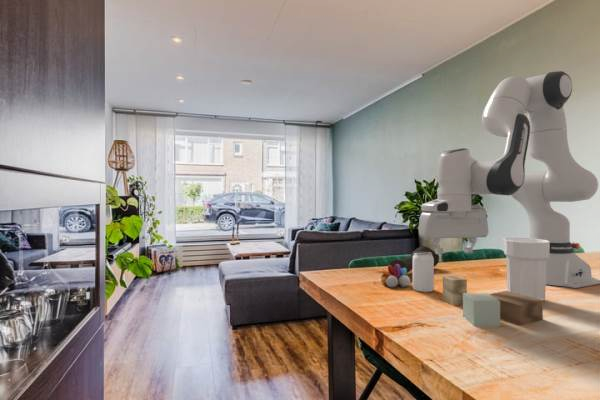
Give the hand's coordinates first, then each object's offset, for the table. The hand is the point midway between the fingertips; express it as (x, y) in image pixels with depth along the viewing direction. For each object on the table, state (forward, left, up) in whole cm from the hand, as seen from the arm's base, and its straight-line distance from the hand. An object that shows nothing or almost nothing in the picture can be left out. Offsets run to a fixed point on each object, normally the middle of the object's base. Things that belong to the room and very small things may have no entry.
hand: (453, 253), depth 94 cm
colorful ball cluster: (+8, -21, -14) cm, 26 cm away
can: (+2, -13, -14) cm, 19 cm away
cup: (-22, +2, -14) cm, 27 cm away
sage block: (+3, +14, -14) cm, 20 cm away
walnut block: (-7, +13, -14) cm, 21 cm away
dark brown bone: (-9, -36, -15) cm, 40 cm away
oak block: (0, 0, -14) cm, 14 cm away
